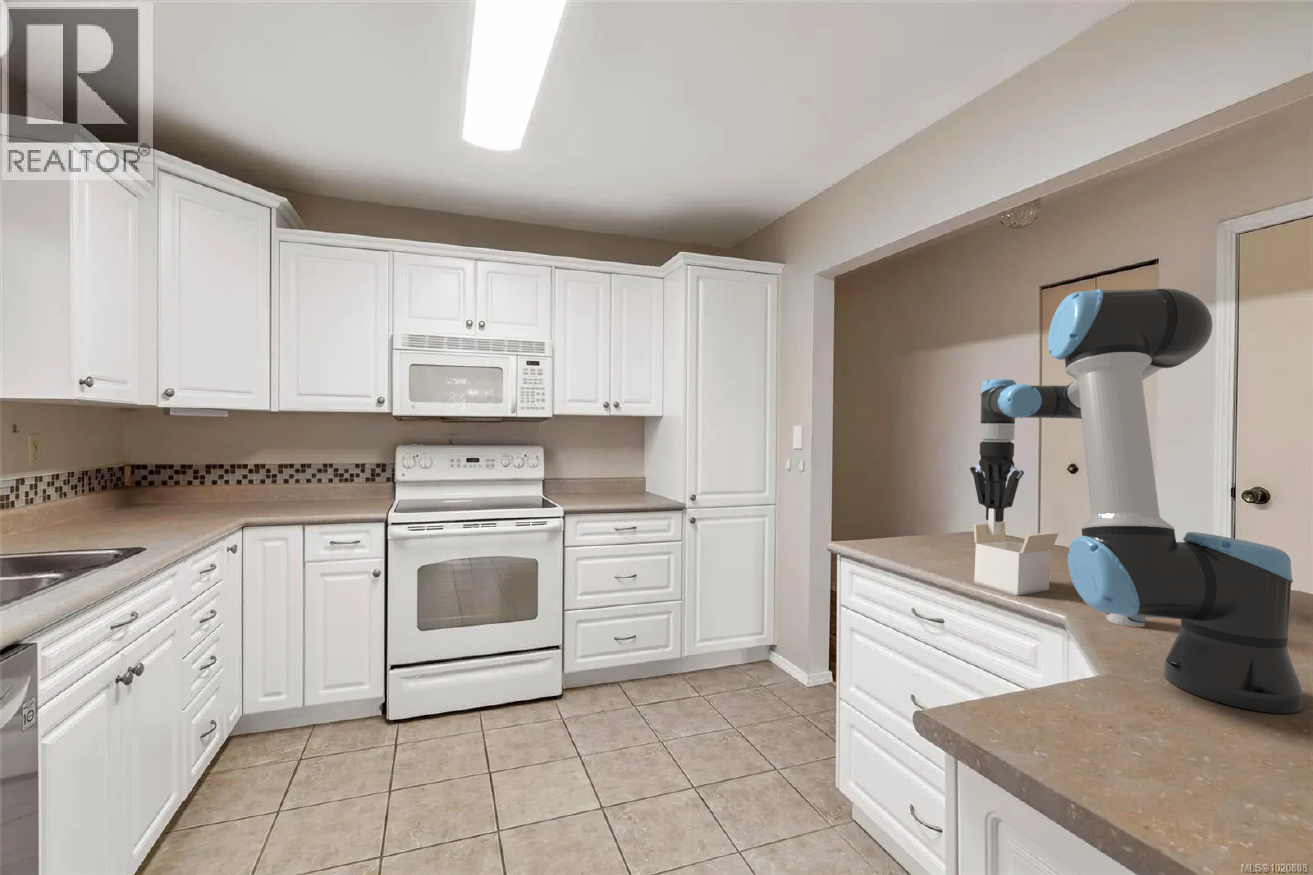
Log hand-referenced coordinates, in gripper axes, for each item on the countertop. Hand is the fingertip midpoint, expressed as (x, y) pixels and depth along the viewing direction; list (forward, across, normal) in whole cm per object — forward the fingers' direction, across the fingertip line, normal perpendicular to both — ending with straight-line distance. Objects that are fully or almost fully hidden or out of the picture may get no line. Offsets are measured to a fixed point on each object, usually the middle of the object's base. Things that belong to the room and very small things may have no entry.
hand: (994, 534), depth 150 cm
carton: (+12, -5, 0) cm, 13 cm away
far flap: (0, +1, 0) cm, 1 cm away
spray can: (+12, -31, +3) cm, 33 cm away
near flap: (0, -11, 0) cm, 11 cm away
